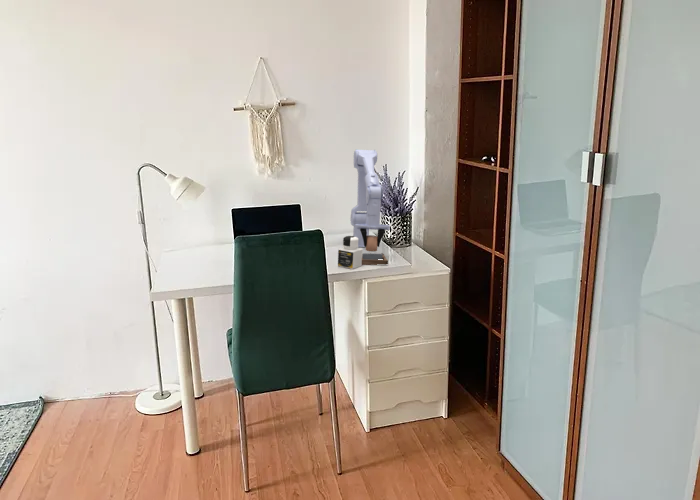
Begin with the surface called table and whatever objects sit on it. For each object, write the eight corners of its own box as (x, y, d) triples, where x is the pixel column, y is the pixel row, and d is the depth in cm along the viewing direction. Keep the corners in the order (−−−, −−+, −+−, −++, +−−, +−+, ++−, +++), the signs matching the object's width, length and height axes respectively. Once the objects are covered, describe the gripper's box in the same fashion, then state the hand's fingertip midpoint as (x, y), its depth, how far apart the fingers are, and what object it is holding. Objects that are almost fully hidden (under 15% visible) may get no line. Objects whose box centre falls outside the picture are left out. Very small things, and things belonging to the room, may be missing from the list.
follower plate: (362, 259, 247) (362, 253, 246) (381, 259, 248) (382, 253, 247) (362, 259, 246) (362, 253, 245) (382, 260, 247) (382, 254, 246)
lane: (357, 256, 252) (357, 251, 252) (382, 256, 253) (383, 252, 253) (361, 264, 239) (361, 260, 238) (387, 265, 240) (388, 260, 239)
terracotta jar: (364, 248, 252) (365, 235, 251) (376, 249, 253) (377, 235, 251) (366, 251, 247) (366, 237, 246) (377, 251, 248) (378, 237, 247)
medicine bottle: (337, 266, 235) (338, 236, 232) (347, 262, 241) (348, 234, 238) (352, 269, 231) (353, 239, 229) (361, 265, 237) (363, 236, 235)
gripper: (357, 215, 242) (355, 247, 245) (391, 216, 243) (389, 248, 246) (355, 212, 249) (353, 244, 252) (389, 213, 250) (387, 244, 253)
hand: (371, 246), depth 250 cm, fingers closed on terracotta jar, 5 cm apart
